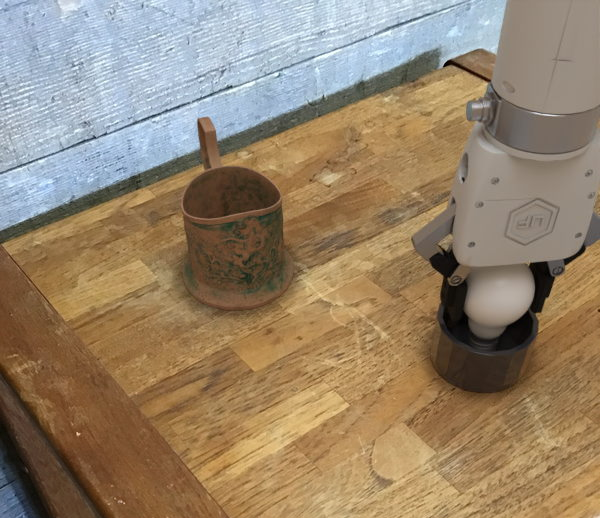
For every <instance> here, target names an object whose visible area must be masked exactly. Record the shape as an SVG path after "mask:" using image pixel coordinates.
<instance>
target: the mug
mask: <svg viewBox="0 0 600 518" xmlns="http://www.w3.org/2000/svg"><path fill="white" fill-rule="evenodd" d="M196 127H197V135H198V143H199V149H200V154H201V160H202V165H203V169H204V171H201V172H200V173H198V174H197V175H195V176H194V177H193V178H192V179H191V180H190V181H189V182H188V183H187V185H186V186H185V188H184V190H183V192H182V195H181V198H180V207H181V213H182V217H183V218H182V219H183V229H184V234H185V239H186V242H187V249H188V250H187V251H188V256H187V257H186V259H185V262H184V265H183V267H182V279H183V283H184V286H185V288H186V290H187V291H188V292H189V294H190V295H191V296H192V297H193V298H194V299H196V300H197V301H199V302H200V303H201V304H204V305H206V306H208V307H212V308H214V309H219V310H224V311H244V310H252V309H256V308H259V307H262V306H265V305H267V304H270V303H271V302H273V301H275V300H276V299H278V298H280V297H281V296H282V295H283V294H284V293H285V292H286V291H287V290H288V288H289V287H290V286H291V284H292V282H293V279H294V275H295V274H294V273H295V267H294V261H293V258H292V256H291V254H290V253H289V251H287V249H286V248H284V247H285V241H284V212H283V193H282V191H281V190H280V188H279V187H278V186H277V185H276V184H275V182H274V181H272V179H270V178H269V177H268V176H267V175H265V174H263V173H262V172H261V171H258V170H256V169H254V168H251V167H248V166H243V165H235V164H234V165H231V164H230V165H228V164H227V165H223V164H222V161H221V157H220V156H221V155H220V151H219V145H218V137H217V129H216V127H215V125H214V122H213V121H212V119H211V118H210V116H201V117H198V118H197V119H196Z"/></svg>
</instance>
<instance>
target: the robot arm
mask: <svg viewBox="0 0 600 518" xmlns="http://www.w3.org/2000/svg"><path fill="white" fill-rule="evenodd" d="M495 54H496V55H495V59H494V66H493V71H492V76H491V80H490V81H488V82H487V84H486V89H485V92H484V94H483V96H481V97H478V99H470V100H468V101H467V102H466V106H465V114H466V115H465V116H466V120H467V122H474V125H473V127H472V129H471V131H470V133H469V135H468V138H467V139H466V142H465V145H464V148H463V150H462V153H461V154H460V158H459V161H458V164H457V166H456V167H457V168H456V170H455V174H454V178H453V181H452V185H451V189H450V192H449V196H448V200H447V206H446V209H444V210H443V211H441V212H440V213H439V214H438V215H437V216H435V217H434V218H433V219H431V220H430V221H429V222H427V223H426V224H425V225H424V226H423V227H421V228H420V229H418V231H416V232H415V233H414V234H412V235H411V237H410V241H411V244H412V247H413V249H414V251H415V253H417V254H418V255H419V256H420V257H421V258H422V259H423V260H425V262H426V261H427V262H428V263H429V264H430V266H431V267H432V268H433V269H434V270H435V271H436V272H437V273H439V274H440V275H441V276H442V282H441V286H440V293H439V298H440V303H442V306H443V307H447V308H448V311H449V313H450V316H451V319H452V321H459V319H461V317H462V313H463V308H464V304H465V299H466V295H467V290H468V285H467V282H466V280H465V278H466V276H467V275H468V274H469V272H470V271H471V270H472V268H473V267H486V266H498V265H509V264H521V263H526V264H528V266H529V268H530V269H531V271H532V273H533V276H534V280H535V294H534V298H533V301H532V303H531V305H530V309H531V311H532V312H534V313H535V314H542V312H543V308H544V306H545V303H546V299H548V298H549V297H550V296H551V292H552V290H553V286H554V282H555V281H556V278H557V277H560V276H562V275H564V273H565V271H566V266H568V265H569V264H570V263H572V262H574V261H575V260H576V259H578V258H579V257H581V256H582V255H583V254H584V253H585V252H586V250H587V248H588V247H591V246H593V245H594V244H595V243H597V242H598V241H600V214H599V213H598V212H597V211H596V210H595V205H596V201H597V198H598V194H599V189H600V127H598V125H599V122H600V0H506V2H505V7H504V13H503V18H502V24H501V29H500V34H499V40H498V45H497V50H496V53H495ZM449 235H450V236H452V237H451V238H452V240H451V241H452V242H451V243H450V244H449V246H448V247H447V249H445V248H443V247H442V246H441V245H440V242H441V241H443V240H444V239H445V238H447V237H448V236H449Z"/></svg>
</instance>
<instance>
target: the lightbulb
mask: <svg viewBox="0 0 600 518" xmlns="http://www.w3.org/2000/svg"><path fill="white" fill-rule="evenodd" d="M465 280H466V282H467V285H468V290H467V295H466V299H465V304H464V308H463V310H464V312H465V313H466V315H467V316H468V324H469V328H470V331H469V336H468V340H467V344H466V345H468V346H470V347H472V348H475V349H480V350H486V351H491V352H494V351H495V350H496V346H497V343H498V339H499V336H500V335H501V334H502V333H503V332H504V330H505V328H506V327H507V325H509V324H511V323H513V322H515V321H516V320H518V319H519V318H520V317H522V316H523V315H524V314H525V313H526V311H527V310H528V309H529V307H530V305H531V303H532V301H533V298H534V294H535V280H534V276H533V273H532V271H531V269H530V268H529V264H528V263H521V264H509V265H498V266H486V267H473V268H472V270H471V271H470V272H469V274H468V275H467V276H466V278H465Z"/></svg>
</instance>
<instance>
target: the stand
mask: <svg viewBox="0 0 600 518" xmlns="http://www.w3.org/2000/svg"><path fill="white" fill-rule="evenodd" d="M434 323H435V324H434V328H433V333H432V334H433V335H432V339H431V345H430V358H431V364H432V365H433V367H434V369H435V371H436V372H437V373H438V374H439V376H440V377H442V378H443V379H444V380H445V381H447V382H448V383H449V384H451V385H452V386H455V387H457V388H458V389H462V390H465V391H468V392H473V393H478V394H480V393H481V394H488V393H489V394H490V393H498V392H501V391H504V390H507V389H509V388H510V387H513V386H514V385H515V384H516V383H518V382H519V381H520V380H521V378H522V377H523V376H524V373H525V371H526V370H527V367H528V365H529V362H530V358H531V356H532V353H533V350H534V347H535V344H536V341H537V338H538V335H539V327H540V325H539V324H540V320H539V318H538V316H537V313H534V312H532V311H531V309H530V307H529V309H528V310H527V311H526V313H525V314H524V315H523V316H522V317H520V318H519V319H518V320H516V321H515V322H513V323H511V324H509V325H507V327H506V328H505V330H504V332H503V333H502V334H501V335H500V336H499V339H498V343H497V346H496V350H495V351H494V352H491V351H486V350H480V349H475V348H472V347H470V346H468V345H466V344H467V340H468V336H469V331H470V328H469V324H468V316H467V315H466V313H465V312H464V310H463V313H462V317H461V319H459V321H452V319H451V316H450V313H449V311H448V308H447V307H443V306H442V303H441V302H440V303H439V304H438V309H437V313H436V319H435V322H434Z"/></svg>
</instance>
